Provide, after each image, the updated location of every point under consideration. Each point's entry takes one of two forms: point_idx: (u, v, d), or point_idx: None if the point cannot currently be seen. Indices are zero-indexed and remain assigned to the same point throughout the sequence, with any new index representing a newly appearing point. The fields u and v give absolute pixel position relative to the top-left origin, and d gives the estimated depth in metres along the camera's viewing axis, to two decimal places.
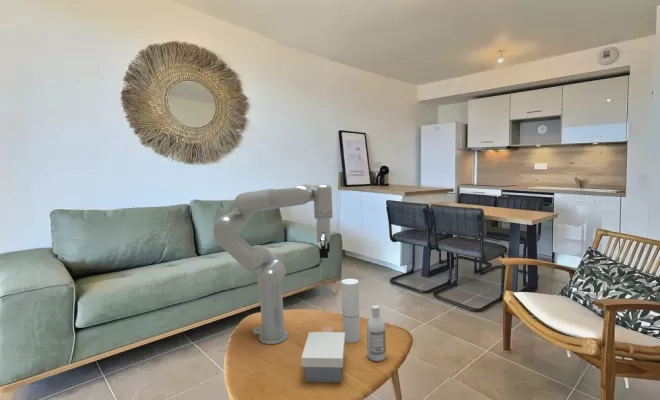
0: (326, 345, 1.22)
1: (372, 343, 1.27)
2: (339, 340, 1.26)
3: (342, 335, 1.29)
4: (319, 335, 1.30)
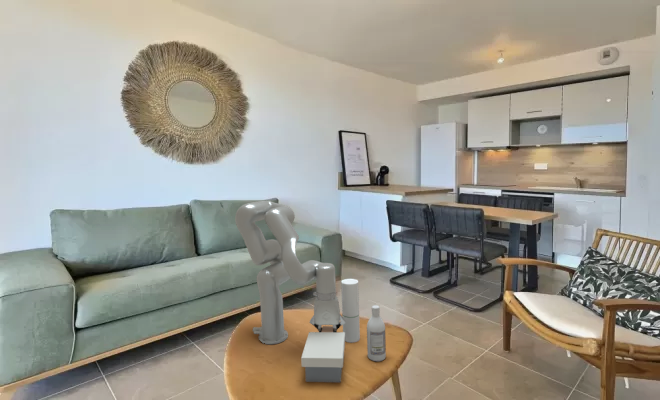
0: (326, 345, 1.22)
1: (372, 343, 1.27)
2: (339, 340, 1.26)
3: (342, 335, 1.29)
4: (319, 335, 1.30)
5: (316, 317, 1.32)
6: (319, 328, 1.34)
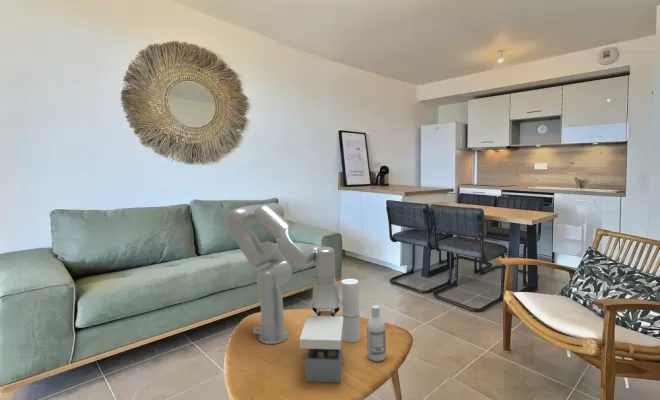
0: (325, 328, 1.22)
1: (372, 343, 1.27)
2: (337, 323, 1.25)
3: (340, 319, 1.29)
4: (317, 318, 1.29)
5: (315, 301, 1.32)
6: (317, 312, 1.34)
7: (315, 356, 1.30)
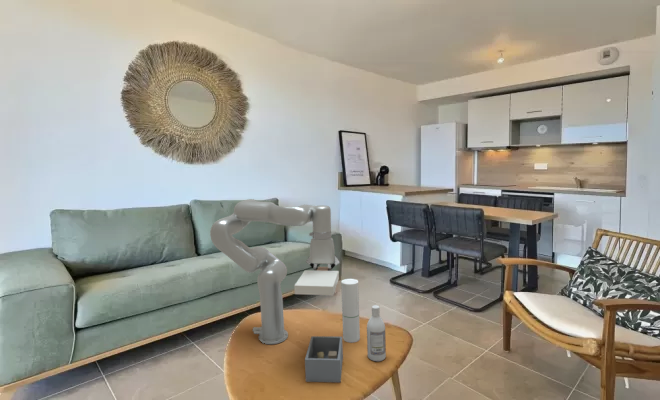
0: (320, 278, 1.28)
1: (372, 343, 1.27)
2: (332, 275, 1.31)
3: (336, 272, 1.35)
4: (314, 272, 1.36)
5: (312, 256, 1.39)
6: (314, 267, 1.40)
7: (315, 356, 1.30)
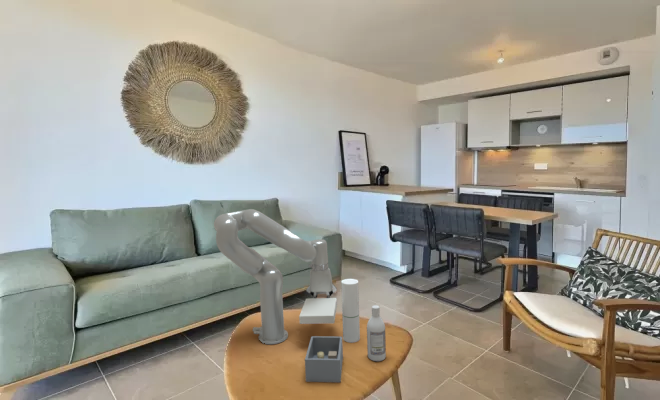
0: (320, 307, 1.44)
1: (372, 343, 1.27)
2: (331, 303, 1.48)
3: (334, 300, 1.51)
4: (314, 300, 1.52)
5: (312, 285, 1.54)
6: (314, 295, 1.56)
7: (315, 356, 1.30)
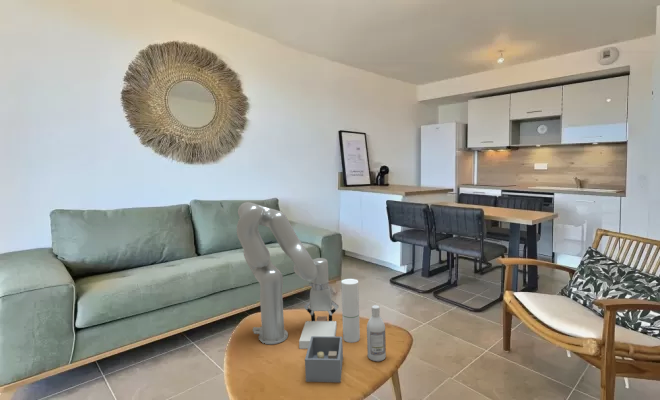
0: (320, 331, 1.45)
1: (372, 343, 1.27)
2: (331, 327, 1.49)
3: (334, 323, 1.52)
4: (314, 323, 1.53)
5: (311, 304, 1.55)
6: (312, 313, 1.57)
7: (315, 356, 1.30)
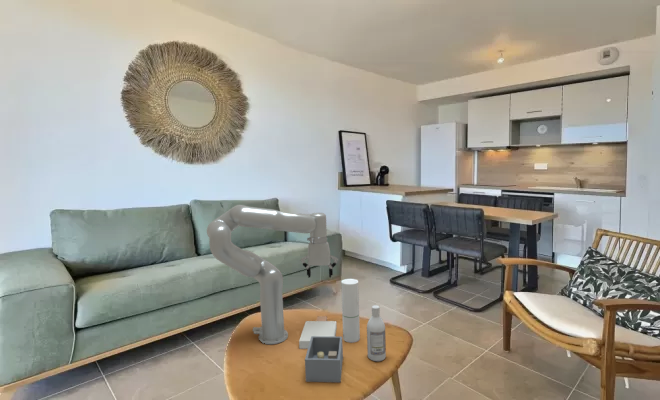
0: (320, 331, 1.45)
1: (372, 343, 1.27)
2: (331, 327, 1.49)
3: (334, 323, 1.52)
4: (314, 323, 1.53)
5: (309, 259, 1.53)
6: (307, 267, 1.55)
7: (315, 356, 1.30)
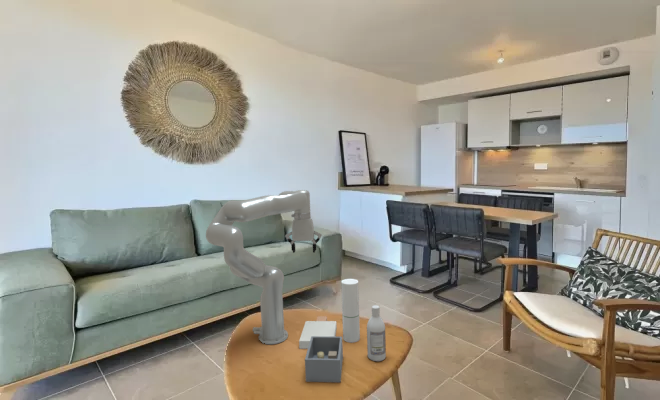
0: (320, 331, 1.45)
1: (372, 343, 1.27)
2: (331, 327, 1.49)
3: (334, 323, 1.52)
4: (314, 323, 1.53)
5: (294, 234, 1.58)
6: (292, 242, 1.60)
7: (315, 356, 1.30)
